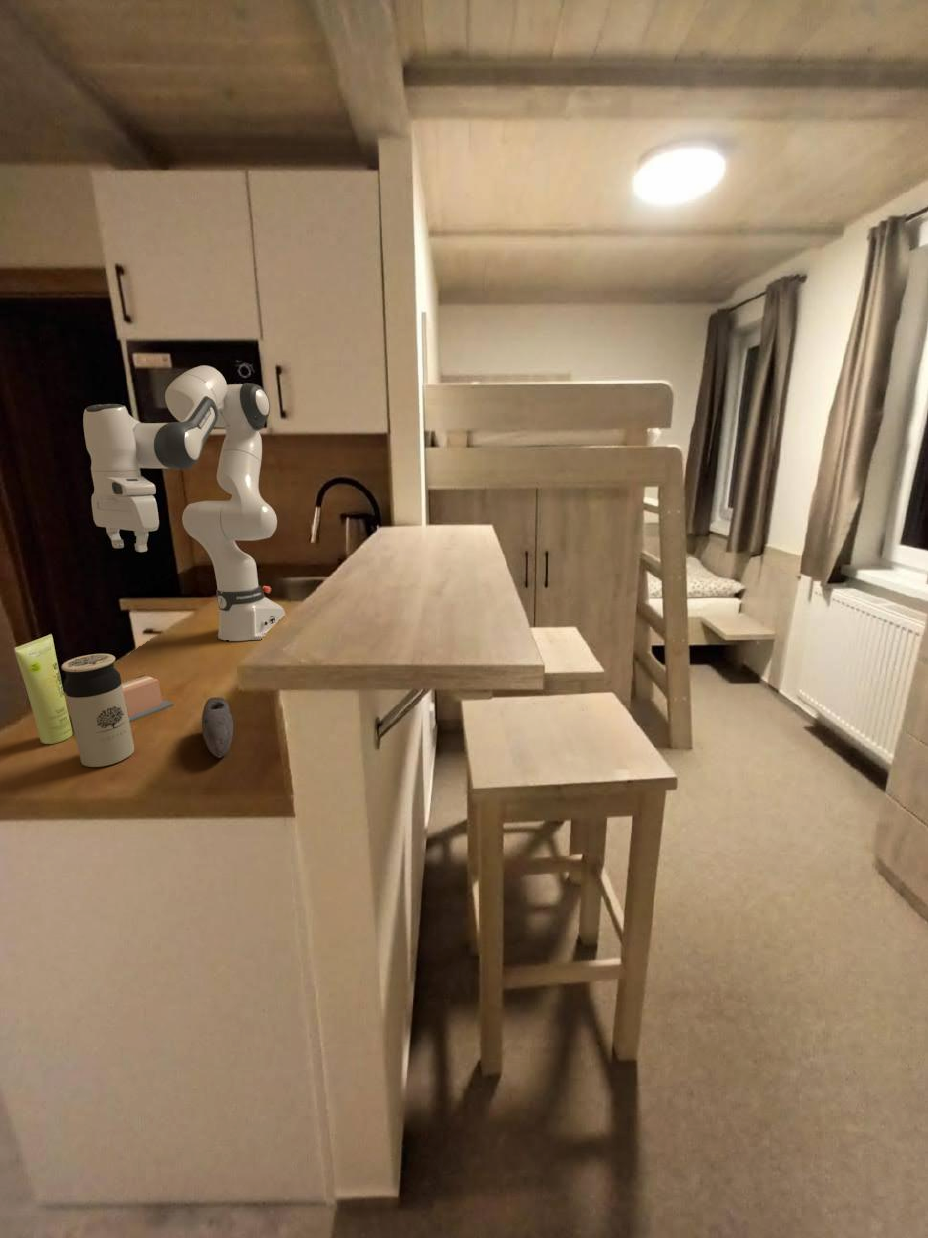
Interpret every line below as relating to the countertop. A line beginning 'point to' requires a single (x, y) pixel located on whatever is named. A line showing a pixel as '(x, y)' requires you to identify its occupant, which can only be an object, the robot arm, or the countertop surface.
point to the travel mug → (98, 710)
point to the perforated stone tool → (217, 726)
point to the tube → (45, 689)
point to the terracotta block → (141, 695)
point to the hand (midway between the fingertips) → (129, 549)
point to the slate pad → (151, 710)
